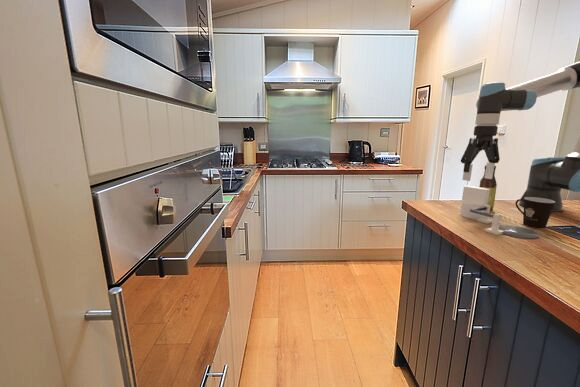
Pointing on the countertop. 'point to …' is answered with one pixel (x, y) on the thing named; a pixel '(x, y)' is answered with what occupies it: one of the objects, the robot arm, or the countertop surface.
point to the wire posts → (495, 222)
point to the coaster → (518, 232)
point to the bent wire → (479, 211)
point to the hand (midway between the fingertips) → (477, 179)
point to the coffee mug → (536, 211)
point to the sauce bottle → (490, 185)
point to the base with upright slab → (473, 200)
